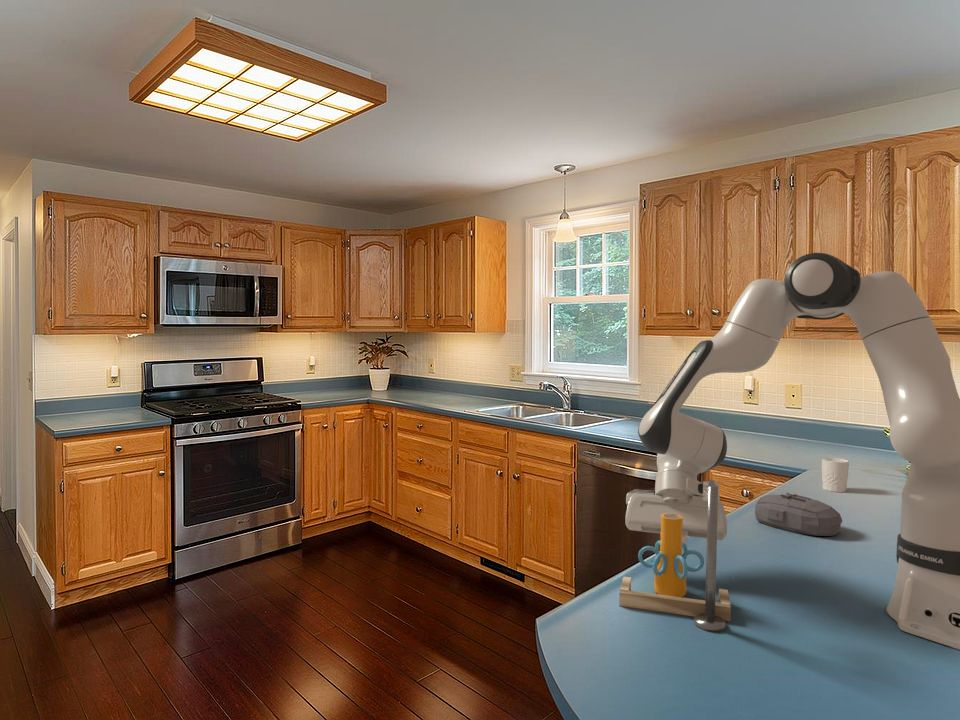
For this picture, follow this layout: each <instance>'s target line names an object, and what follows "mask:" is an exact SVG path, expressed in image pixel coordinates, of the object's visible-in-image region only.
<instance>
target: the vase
mask: <svg viewBox="0 0 960 720" xmlns="http://www.w3.org/2000/svg"><path fill="white" fill-rule="evenodd" d="M682 531H683V516H681V515H679V514H675V513H663V514H661V533H660V539H659V540H657V541H656V542H655V545H654V546H650V545H646V546H643V547H642V548H641V549H639V550H638V554H637V556H638V557H637V558H638V561H639V563H640V564H641V565H642V566H643V567H646V568H652V569H653V574H654V575H653V578H654V579H653V590H654V592H655V594H659V595H667V596H674V597H682V598H684V597H685V596H686V594H687V585H688V584H687V580H688V579H687V578H688V576H687V575H688V572H692V573H697V572H699V571H701V570H702V569H703V567H704V566H705V558H704V556H703V554H702V553H700V552H699V551H698V550H696V549H689V550H688V546H687V545H686V544H687V543H685V544H684V543H682ZM646 551H652V552H653V553H654V554H655V557H654V560H653V562H652V563H651V562H650V563H649V562H646V561H645V560H644V559H643V554H644V552H646ZM690 555H695V556H696V557H698V559H699V564H698V565H697V566H694V567H691V566H689V565H688V564H687V561H686V559H687V557H688V556H690Z"/></svg>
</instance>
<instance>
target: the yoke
mask: <svg viewBox="0 0 960 720" xmlns="http://www.w3.org/2000/svg"><path fill="white" fill-rule="evenodd" d="M621 581H622V582H621V585H620V588H619V593H618V594H619V599H618V601H619V602H618V604H619V605H618V606H619V607H625V608H632V609H638V610H646V611H653V612H660V613H668V614H674V615H675V614H676V615H679V616H680V615H682V616H688V617H694V618H695V616H696V615H698V614H705V599H704V600H703V599H696V598H688V597H674V596H667V595H659V594H657V593H651V592H643V591H635V590H632V577H631V576H623V577H622V580H621ZM731 611H732V606H731V601H730V595H729V591H728V589H724V588H718V601H715V616H718V617H720V618H722V619H723V620H724V621H725V622H731V621H732V620H731V618H732V616H731V615H732V612H731Z"/></svg>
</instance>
